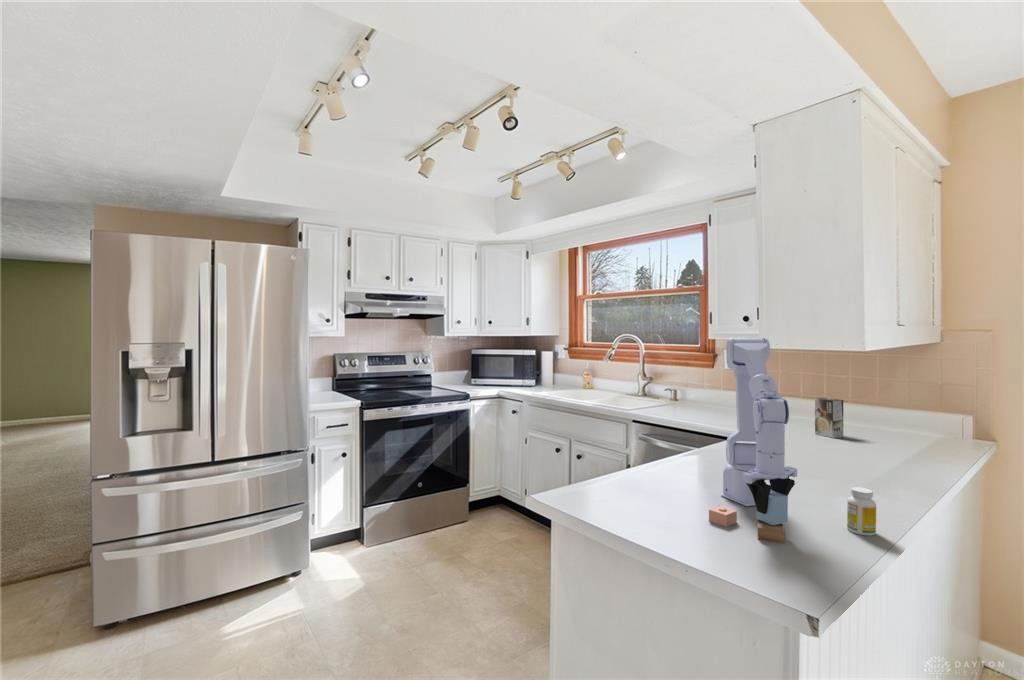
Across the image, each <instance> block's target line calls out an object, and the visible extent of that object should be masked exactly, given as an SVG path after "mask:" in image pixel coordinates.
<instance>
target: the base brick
mask: <svg viewBox="0 0 1024 680" xmlns="http://www.w3.org/2000/svg"><path fill="white" fill-rule="evenodd" d="M756 524H757V525H756V526H757V540H759V541H766V542H771V543H776V544H777V543H778V544H784V543H785V541H784V540H785V530H784V523H782V524H777V525H770V524H768V523H766V522H764V521H761V520H759V519H757V518H756Z"/></svg>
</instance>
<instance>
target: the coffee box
mask: <svg viewBox="0 0 1024 680" xmlns="http://www.w3.org/2000/svg"><path fill="white" fill-rule="evenodd" d="M814 435H818V436H824V437H828V438H831V439H832V438H833V439H837V438H838V439H839V438H844V399H839V398H831V397H815V398H814Z"/></svg>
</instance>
